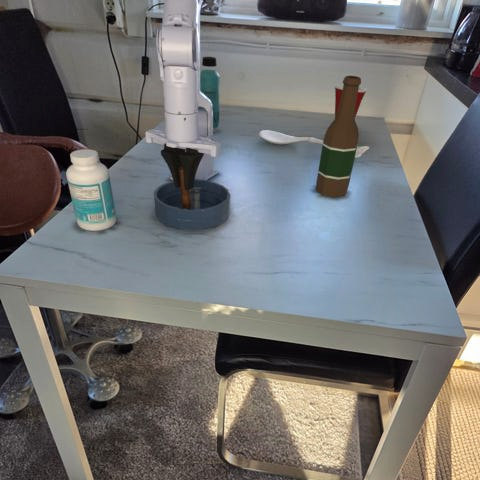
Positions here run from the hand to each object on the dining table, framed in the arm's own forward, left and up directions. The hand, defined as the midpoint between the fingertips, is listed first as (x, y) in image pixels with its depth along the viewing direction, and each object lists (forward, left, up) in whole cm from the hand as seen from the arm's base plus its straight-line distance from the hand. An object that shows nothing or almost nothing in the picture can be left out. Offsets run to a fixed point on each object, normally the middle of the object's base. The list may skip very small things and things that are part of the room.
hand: (184, 187), depth 82 cm
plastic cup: (-88, +10, -7) cm, 89 cm away
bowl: (-3, 0, -7) cm, 8 cm away
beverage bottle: (-56, -25, -7) cm, 62 cm away
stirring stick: (-1, 0, -6) cm, 6 cm away
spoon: (-56, +8, -7) cm, 57 cm away
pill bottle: (+10, -14, -7) cm, 19 cm away
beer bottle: (-30, +22, -7) cm, 38 cm away
